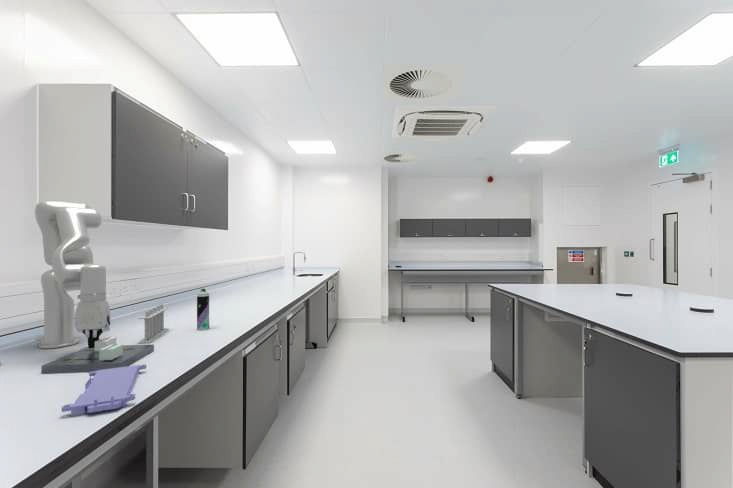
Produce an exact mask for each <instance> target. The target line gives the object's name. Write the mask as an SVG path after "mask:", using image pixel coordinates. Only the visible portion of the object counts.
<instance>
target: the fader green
mask: <svg viewBox="0 0 733 488" xmlns="http://www.w3.org/2000/svg"><path fill="white" fill-rule="evenodd" d="M123 345H124V344H118V343H116V344H114V345H109V346H107V347H104V348H102V349H100V350H99V360H113V359H115V358H117V357H118V356H120V355H122V354H123Z"/></svg>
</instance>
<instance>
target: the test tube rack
mask: <svg viewBox="0 0 733 488" xmlns="http://www.w3.org/2000/svg"><path fill="white" fill-rule="evenodd" d="M168 309H169V307H164V304H162V303H161V304H159V305H156V306H154V307H152V308H149V309H148V310H145V314H144V315H141V316H140V317H138V319H139V320H144V321H143V322H144V338H143V339H142V340H140V341H139V342H138V345H149V344H151V343H152V344H153V342H154V341H155V340H157V339H158V338H159V337H161V336H162V335H164V334H165V333H166V332H167V331H169V327H168V328H165V325H164V324H165V323H164V322H165V321H164V320H165V314H164V313H165V311H166V310H168Z"/></svg>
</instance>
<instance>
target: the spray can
mask: <svg viewBox="0 0 733 488" xmlns="http://www.w3.org/2000/svg"><path fill="white" fill-rule="evenodd" d="M196 330H197V331H207V330H210V293H209V292H207V290H206V288H201V289H200V291H199V292H198V293H197V294H196Z"/></svg>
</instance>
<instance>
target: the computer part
mask: <svg viewBox="0 0 733 488" xmlns="http://www.w3.org/2000/svg"><path fill="white" fill-rule="evenodd" d="M146 369H147V364H146V363H145V364H135V365H129V366H126V367H118V368H111V369H103V370H98V371H92V372H88V376H89V377H90V378H89V379H88V380H87V381H86V383H85V384H84V385H85V387H84V392H83V393H80V394H79V396H78V397H77V398H76V399H75V401H74V402H73V403H70V404H64V405H62V406H61V413H64V412H66V413H67V412H70V416H71V417H77V416H78V417H79V416H84V415H85V414H90V413H91V414H92V413H96V412H104V411H103V410H105V411H109V410H114V409H115V410H116V409H119V408H126V406H127V403H128V402H129V401H134V400H136V393H135V394H134V393H132V390H133V388H134V386H135V383H136V381H137V378H138V376H139V373H140V370H146Z"/></svg>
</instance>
